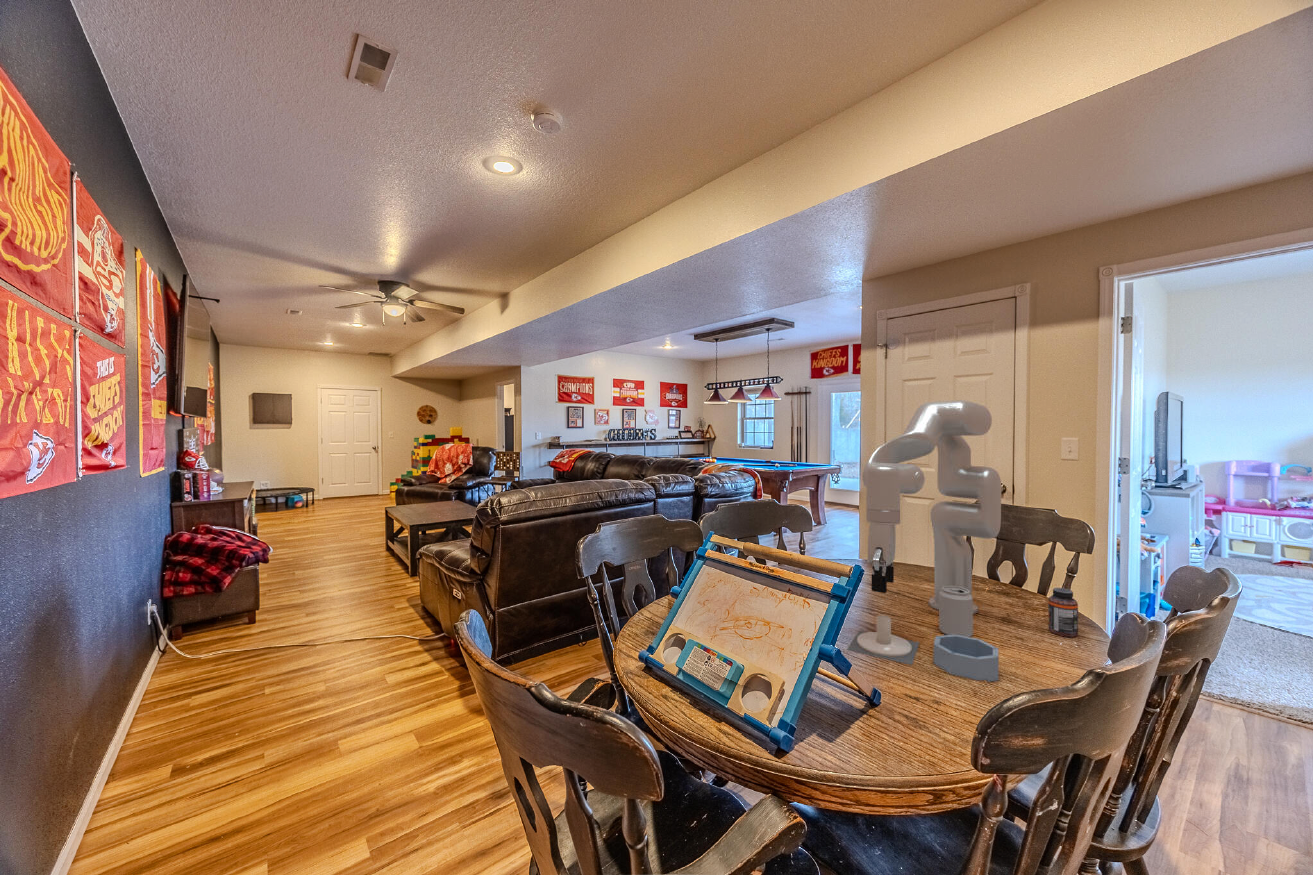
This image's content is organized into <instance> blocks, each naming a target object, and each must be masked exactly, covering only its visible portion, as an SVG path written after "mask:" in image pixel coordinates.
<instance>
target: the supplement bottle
mask: <svg viewBox="0 0 1313 875" xmlns="http://www.w3.org/2000/svg"><path fill="white" fill-rule="evenodd" d="M1073 597H1074V592H1073V591H1072V590H1071V589H1068V588H1063V587H1053V589H1052V595H1051V596H1049V597H1048V599H1047V600H1048V601H1047V602H1048V603H1047V604H1048V605H1047V606H1048V607H1047V608H1048V630H1049V632H1051V633H1052V634H1055V635H1058V636H1060V637H1066V638H1074V637H1077V636H1078V635H1079V604H1078V603H1079V602H1078V601H1077V600H1076V599H1075V598H1073Z"/></svg>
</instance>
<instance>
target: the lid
mask: <svg viewBox="0 0 1313 875" xmlns="http://www.w3.org/2000/svg"><path fill="white" fill-rule="evenodd" d="M875 619H876V620H875V621H876V631H871V632H870V631H867V633H863V634H860V635H859V636H858V637H857V644H858V645H859V647H861V648H862V649H863V650H865V651H867V652H870V653H872V654H876V655H880V656H885V657H904V656H907V655H909V654H910V653H911V644H910V643H909V642H908V641H907V640H908V639H905V638H902V637H901V636H898V635H896V634H892V618H891V617H890V616H888V615H884V614H878V615H876V618H875Z"/></svg>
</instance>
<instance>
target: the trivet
mask: <svg viewBox="0 0 1313 875" xmlns="http://www.w3.org/2000/svg"><path fill="white" fill-rule="evenodd" d="M867 632H868V631H866V630H861V629H859V631H858V632H857V634H856V635H855V637H854V638H853V640H852V641H851V643H850V644H849V646H848V647H847V649H846V651H849V652H855V653H858V654H861V655H862V654H863V655H866V656H867V655H868V656H871V657H875V658H879V659H883V660H888V661H891V662H892V661H893V662H897V663H900V664H906V665H910V666H912V665H913V664H914V660H915V657H916V654H917V651H918V649H919V646H920V643H921V642H919V641H914V640H911V639H910V640H909V639H906V640H907V641H908V642H909V643H910V644H911V653H910V654H909V655H907V656H904V657H885V656H880V655H876V654H872V653H870V652H867V651H865V650H863V649H862V648H861V647H859V645H858V644H857V637H858V636H859V635H860V634H863V633H867Z"/></svg>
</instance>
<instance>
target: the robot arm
mask: <svg viewBox="0 0 1313 875" xmlns="http://www.w3.org/2000/svg"><path fill="white" fill-rule="evenodd" d="M992 421H993V419H992V414H991V411H990V410H989V409H988V408H987V407H986V406H985V405H982V404H979V403H976V402H972V401H968V400H941V401H940V400H937V401H929V402H923V404H921V405H920V406H918V408H917V409H916V411H915V413H914V414H913V416H912V418H911V419H910V421H909V422H908V425H907V426H906V428H905V430H904V431H903V432H902V434H900V435H897V436H896V437H894V438H892V439H891V440H889V441H886V442H885V443H884V444H882V445H880V446H879V447H877V448H876V449H875V450H874V451H873V452H872V453H871V455H870V456H869V458H868V460H867V461H866V464H865V465H864V467H863V471H862V476H861V479H862V483H863V485H864V487H865V488H866V494H865V495H866V498H865V499H866V505H865V506H866V508H865V510H866V511H865V512H866V513H865V514H866V515H865V516H866V517H865V518H866V520H865V521H866V522H867V523H868V524H869V526H868V536H867V538H868V539H867V556H866V558H867V559H866V561H867V563H868V565H872V570H871V591H872V592H875V593H882V594H886V593H887V590H888V589H887V588H888V587H887V586H888V584H887V583H891V584H892V583H894V580H895V575H894V573H895V572H894V571H895V570H894V569H895V567H894V560H895V558H896V540H897V539H896V526H897V525H900V524H901V495H914V494H917V493H918V492H920V490H922V489H923V488H924V485H925V480H926V479H925V478H926V477H925V474H924V472H923V470H922V469H921V468H920V467H919V466H917V465H914V464H909V463H903V462H908V461H912V460H916V459H919V458H922V457H925V456H928V455H929V454H931V453H933V451H934V450H935V449H937V450H936V451H937V473H936V474H937V477H936V478H937V481H936V482H937V484H936V485H937V489H938V492H939V493H940V494H941V495H943V496H946V497H949V498H950V497H951V498H957V499H972V500H977V501H978V504H977V503H970V502H968V503H967V502H962V501H961V502H960V501H951V500H950V501H948V500H947V501H939V502H936V503H935V504H934V505H933V506H932V507H931V510H930V521H931V522H930V523H931V527H932V531H933V542H934V543H933V544H934V545H933V546H934V549H933V550H934V551H933V552H934V554H933V555H934V558H933V559H934V561H933V562H934V569H933V570H934V596H933V597H931V598H929V599H928V605H929V606H930V607H931V608H933V609H935V610H937V611H939V592H940V591H941V590H942V587H944V586H958V587H962V588H966V589H968V590H969V591H970V593H969V594H970V595H971V596H972V597H973V595H972V588H973V587H972V586H973V584H972V577H973V576H972V550H971V546H970V544H969V542H968V541H967V540H966V538H965V537H964V536H966V537H970V538H971V537H972V538H978V539H979V538H980V539H985V540H986V539H988V540H990V539H994V538H996V537H997V536H998V535H999V534H1000V530H1001V523H1002V480H1001V477H1000V473H999V472H998V471H997V470H996V469H995V468H992V467H989V466H978V465H976V466H974V465H972V462H971V461H972V450H971V447H970V445H969V443H968V442H967V441H966V439H965V438H964V437H965V436H967V437H969V436H971V437H972V436H973V437H974V436H975V437H977V436H984V435H986V434H987V433H989V431H990V429H991V427H992V424H993V422H992ZM963 436H964V437H963ZM978 612H979V607H978V605H976V604H975V603H974V602H973V615H975V614H977V613H978Z"/></svg>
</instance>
